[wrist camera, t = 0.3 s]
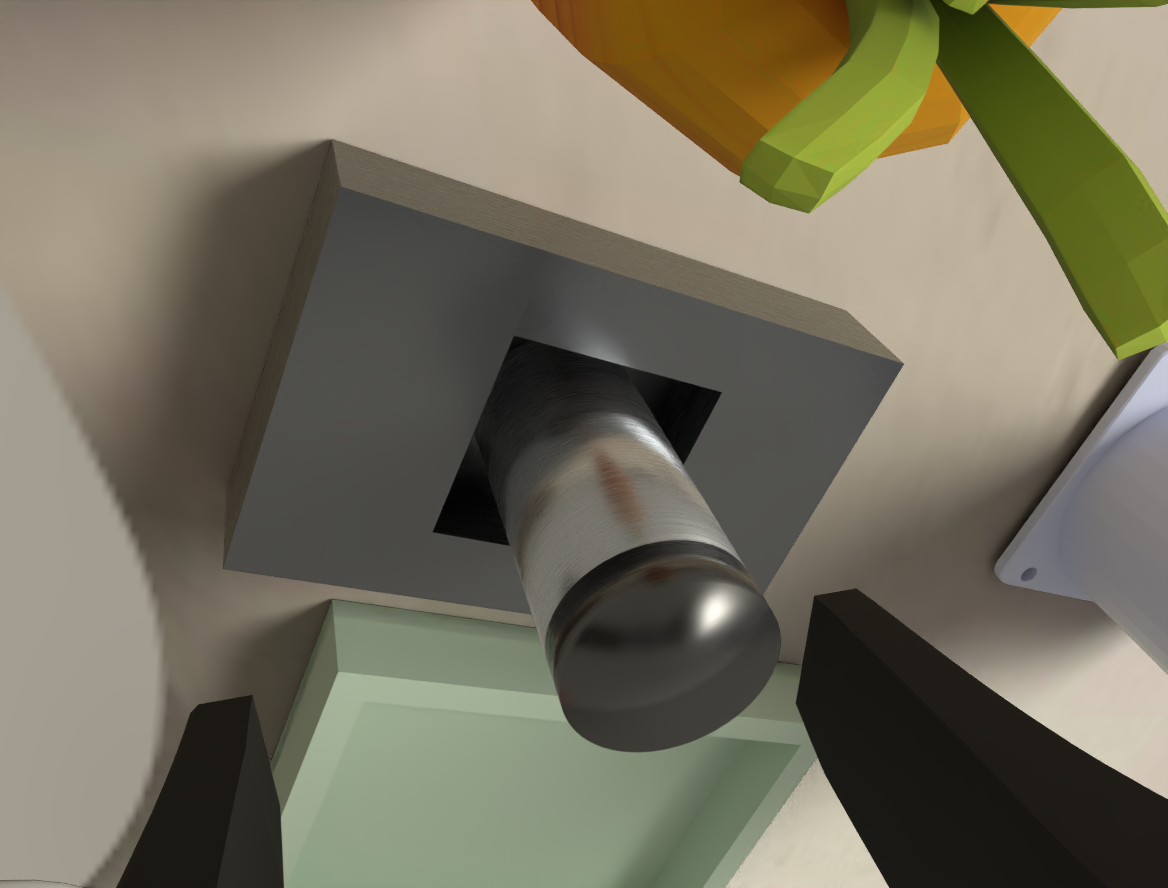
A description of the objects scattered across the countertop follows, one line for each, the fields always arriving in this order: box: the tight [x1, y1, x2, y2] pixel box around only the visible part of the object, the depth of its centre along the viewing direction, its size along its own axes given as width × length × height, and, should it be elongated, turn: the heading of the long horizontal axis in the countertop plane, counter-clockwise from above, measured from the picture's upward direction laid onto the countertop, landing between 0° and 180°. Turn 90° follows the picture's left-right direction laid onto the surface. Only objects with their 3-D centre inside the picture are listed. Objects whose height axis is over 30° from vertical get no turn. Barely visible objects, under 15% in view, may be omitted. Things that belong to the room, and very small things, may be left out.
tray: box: [270, 599, 817, 888], centre depth 28 cm, size 14×11×2 cm
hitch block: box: [223, 139, 904, 614], centre depth 21 cm, size 12×8×3 cm, turn 67°
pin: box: [474, 341, 781, 753], centre depth 19 cm, size 4×4×8 cm
